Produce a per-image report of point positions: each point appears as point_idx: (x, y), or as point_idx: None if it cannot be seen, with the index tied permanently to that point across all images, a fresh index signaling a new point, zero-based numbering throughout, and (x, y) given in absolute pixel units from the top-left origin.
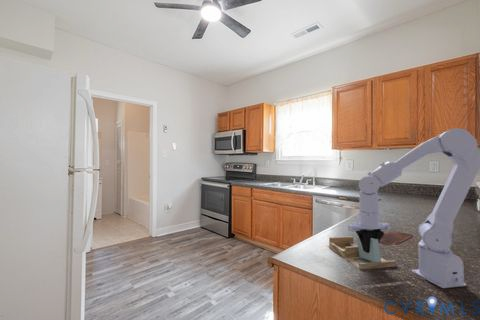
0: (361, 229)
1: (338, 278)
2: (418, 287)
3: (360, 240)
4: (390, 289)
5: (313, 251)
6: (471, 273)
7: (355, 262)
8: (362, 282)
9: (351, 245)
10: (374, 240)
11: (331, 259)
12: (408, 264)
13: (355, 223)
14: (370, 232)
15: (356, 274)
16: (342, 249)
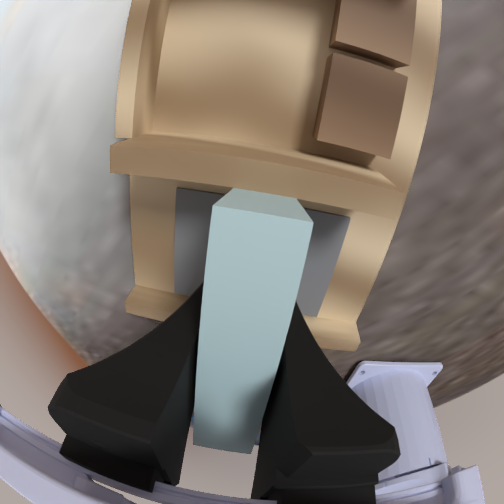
0: (89, 475)
1: (42, 289)
2: None
3: (158, 330)
4: None
5: (48, 12)
6: (483, 381)
7: (158, 230)
8: (102, 336)
9: (337, 14)
10: (213, 441)
11: (70, 130)
12: (435, 314)
13: (12, 487)
14: (276, 450)
15: (108, 298)
16: (130, 105)
